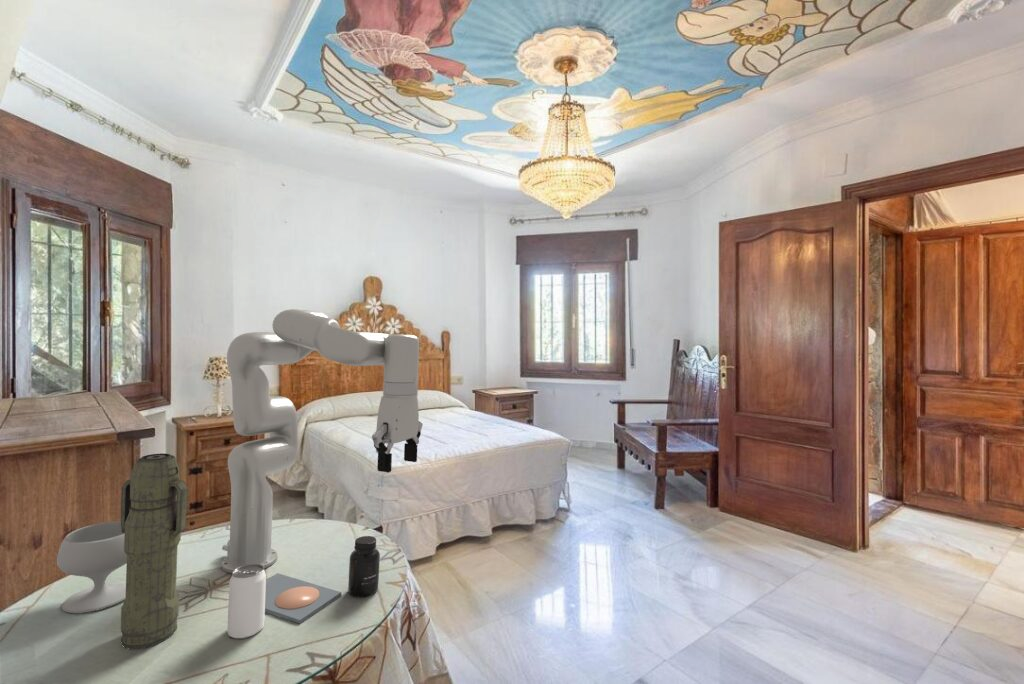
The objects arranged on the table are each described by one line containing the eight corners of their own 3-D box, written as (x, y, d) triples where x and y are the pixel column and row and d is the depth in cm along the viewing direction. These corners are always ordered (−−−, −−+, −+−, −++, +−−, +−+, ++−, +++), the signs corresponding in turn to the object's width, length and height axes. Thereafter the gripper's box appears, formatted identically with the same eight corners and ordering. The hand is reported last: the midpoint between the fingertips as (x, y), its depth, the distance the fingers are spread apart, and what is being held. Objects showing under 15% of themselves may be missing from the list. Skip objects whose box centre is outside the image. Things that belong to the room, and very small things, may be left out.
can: (237, 620, 98) (239, 562, 98) (269, 620, 98) (271, 562, 98) (220, 640, 91) (222, 578, 91) (255, 639, 92) (257, 578, 92)
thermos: (169, 648, 88) (175, 462, 88) (100, 651, 87) (106, 462, 87) (195, 620, 97) (201, 451, 97) (132, 622, 96) (138, 450, 96)
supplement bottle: (369, 600, 107) (371, 547, 107) (342, 596, 108) (344, 544, 108) (383, 585, 113) (385, 535, 113) (357, 581, 115) (359, 532, 115)
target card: (232, 600, 105) (232, 596, 105) (277, 576, 116) (277, 572, 116) (299, 623, 97) (300, 619, 97) (341, 595, 108) (341, 591, 108)
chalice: (114, 578, 112) (116, 515, 112) (154, 590, 108) (156, 525, 108) (39, 608, 99) (41, 537, 99) (81, 624, 95) (83, 549, 95)
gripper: (408, 385, 115) (406, 455, 115) (361, 391, 98) (358, 473, 98) (435, 387, 112) (432, 459, 112) (390, 394, 96) (387, 478, 96)
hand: (397, 466), depth 105 cm, fingers open, 9 cm apart
